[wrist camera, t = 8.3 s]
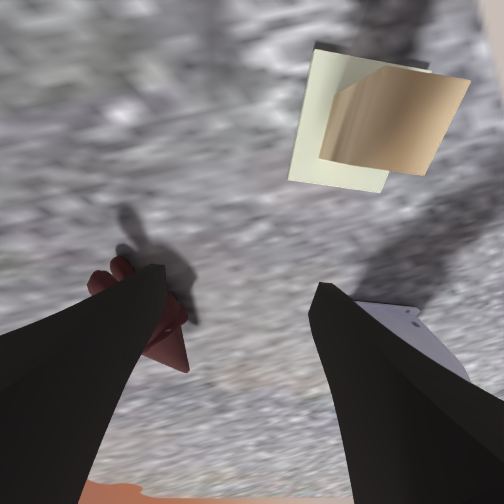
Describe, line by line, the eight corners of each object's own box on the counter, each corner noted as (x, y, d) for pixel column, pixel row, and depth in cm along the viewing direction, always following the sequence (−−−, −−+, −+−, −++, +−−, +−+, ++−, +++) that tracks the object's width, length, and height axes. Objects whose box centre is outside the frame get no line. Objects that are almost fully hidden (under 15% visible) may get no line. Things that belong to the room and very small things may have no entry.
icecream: (218, 384, 20) (131, 258, 15) (149, 419, 20) (33, 302, 14) (215, 336, 27) (154, 236, 21) (163, 362, 26) (86, 266, 21)
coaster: (425, 73, 14) (431, 70, 13) (376, 191, 18) (380, 193, 17) (312, 52, 13) (314, 49, 13) (286, 178, 17) (287, 179, 17)
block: (389, 104, 14) (471, 80, 9) (366, 165, 16) (423, 175, 11) (334, 95, 14) (385, 65, 9) (318, 158, 16) (352, 165, 11)
